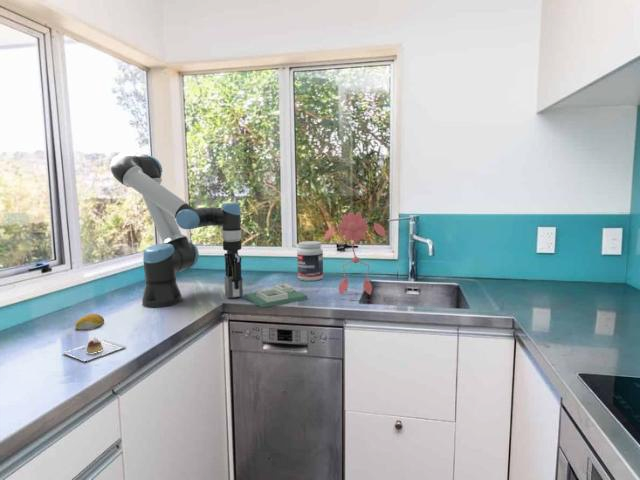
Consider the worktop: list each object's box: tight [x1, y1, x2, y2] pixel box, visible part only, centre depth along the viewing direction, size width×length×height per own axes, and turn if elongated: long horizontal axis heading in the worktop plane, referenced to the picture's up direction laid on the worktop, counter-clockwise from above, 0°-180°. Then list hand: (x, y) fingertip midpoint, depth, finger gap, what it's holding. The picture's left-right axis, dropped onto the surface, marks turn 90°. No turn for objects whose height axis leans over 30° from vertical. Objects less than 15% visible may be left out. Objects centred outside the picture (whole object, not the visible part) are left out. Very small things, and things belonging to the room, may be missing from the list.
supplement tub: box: [296, 240, 324, 282], centre depth 205 cm, size 13×13×18 cm
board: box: [243, 283, 308, 308], centre depth 170 cm, size 20×18×4 cm
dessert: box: [62, 336, 127, 363], centre depth 117 cm, size 12×12×5 cm
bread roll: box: [74, 313, 105, 331], centre depth 140 cm, size 8×9×4 cm
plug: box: [224, 276, 244, 299], centre depth 173 cm, size 7×4×8 cm
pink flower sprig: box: [324, 211, 386, 302], centre depth 168 cm, size 15×26×35 cm, turn 75°
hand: (233, 294), depth 173 cm, fingers closed on plug, 4 cm apart
